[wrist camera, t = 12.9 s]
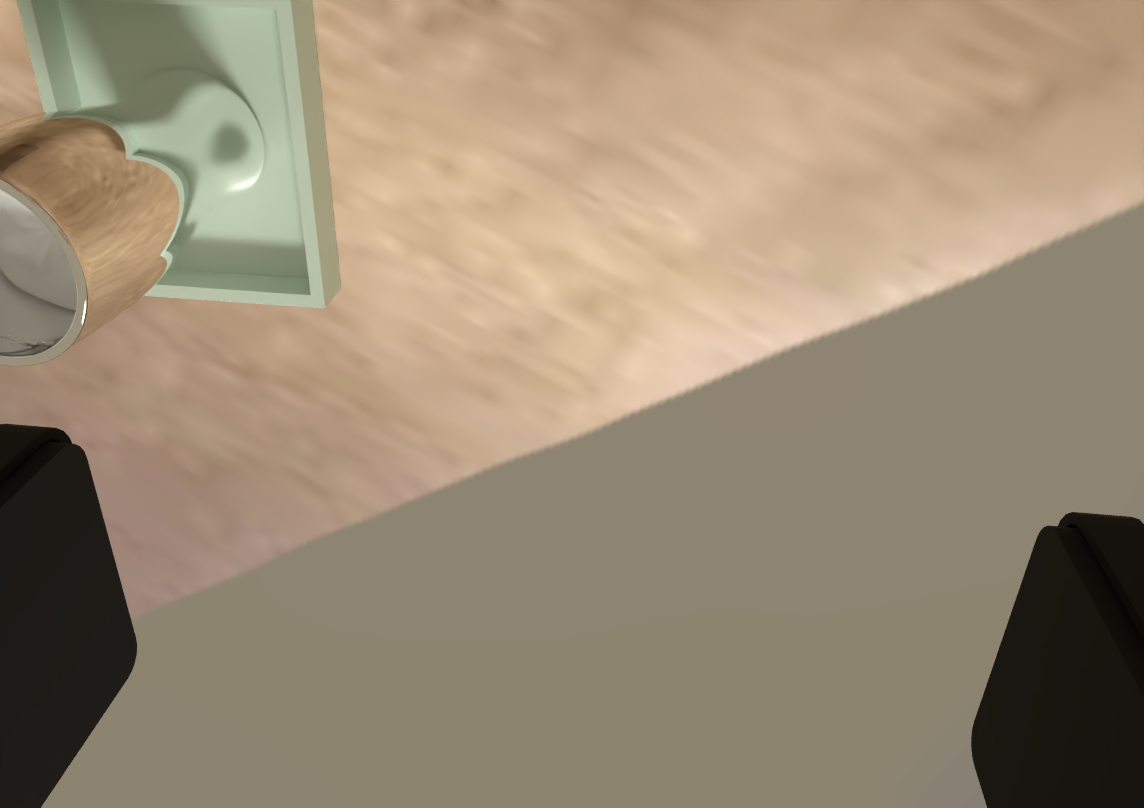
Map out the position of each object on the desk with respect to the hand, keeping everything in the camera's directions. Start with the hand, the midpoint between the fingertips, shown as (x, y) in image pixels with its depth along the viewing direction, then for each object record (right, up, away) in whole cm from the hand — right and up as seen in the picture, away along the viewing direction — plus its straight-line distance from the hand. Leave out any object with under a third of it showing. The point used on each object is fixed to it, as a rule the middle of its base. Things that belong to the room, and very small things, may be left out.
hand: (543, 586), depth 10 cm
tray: (-16, +13, +33) cm, 39 cm away
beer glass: (-16, +13, +33) cm, 39 cm away
